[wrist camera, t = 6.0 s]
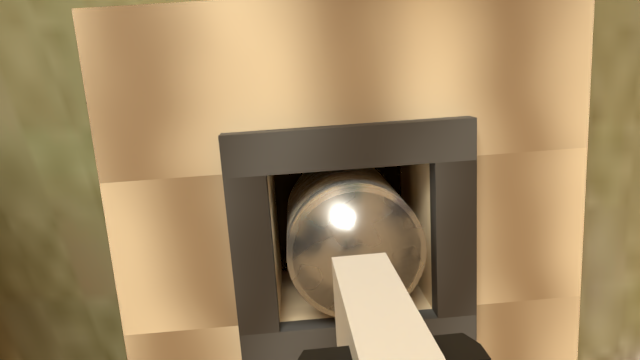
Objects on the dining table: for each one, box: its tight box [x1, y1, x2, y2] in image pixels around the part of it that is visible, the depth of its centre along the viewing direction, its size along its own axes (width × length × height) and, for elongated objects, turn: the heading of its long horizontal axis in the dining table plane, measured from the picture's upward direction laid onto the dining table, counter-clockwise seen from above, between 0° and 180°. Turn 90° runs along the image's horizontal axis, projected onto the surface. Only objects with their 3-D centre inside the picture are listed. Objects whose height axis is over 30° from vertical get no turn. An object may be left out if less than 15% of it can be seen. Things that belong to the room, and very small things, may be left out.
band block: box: [72, 0, 595, 360], centre depth 22 cm, size 18×18×6 cm
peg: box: [287, 168, 427, 317], centre depth 21 cm, size 5×5×6 cm
